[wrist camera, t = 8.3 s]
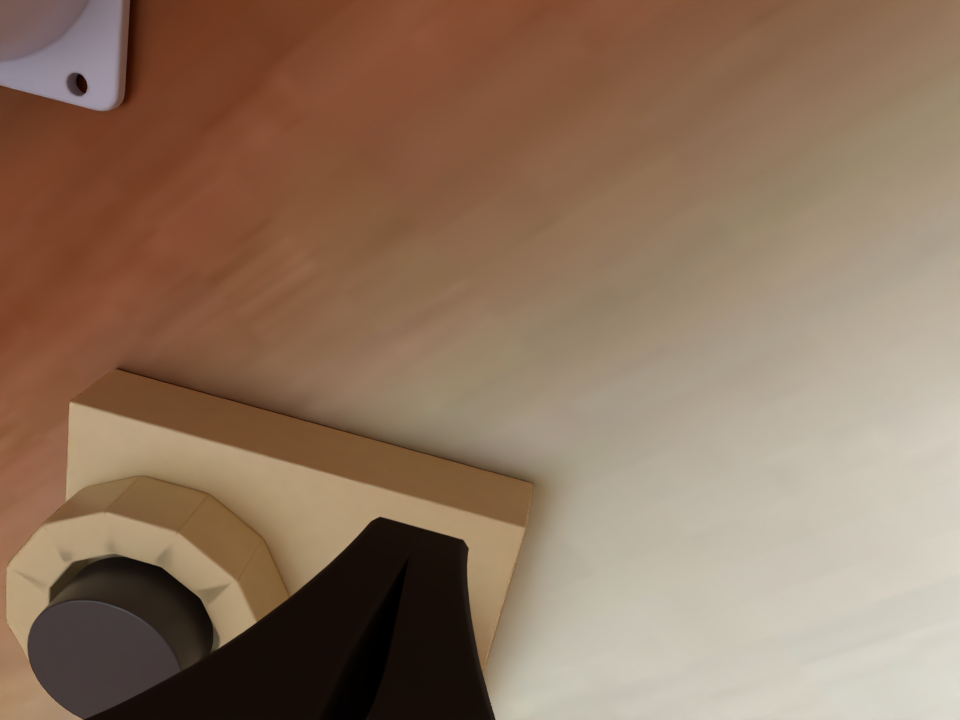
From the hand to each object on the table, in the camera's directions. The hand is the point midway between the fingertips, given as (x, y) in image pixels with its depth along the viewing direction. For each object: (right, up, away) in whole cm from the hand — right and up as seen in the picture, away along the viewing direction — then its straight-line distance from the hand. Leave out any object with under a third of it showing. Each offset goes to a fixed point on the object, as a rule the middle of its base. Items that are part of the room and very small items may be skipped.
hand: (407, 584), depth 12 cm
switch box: (-4, -3, +13) cm, 14 cm away
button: (-8, -4, +10) cm, 13 cm away
